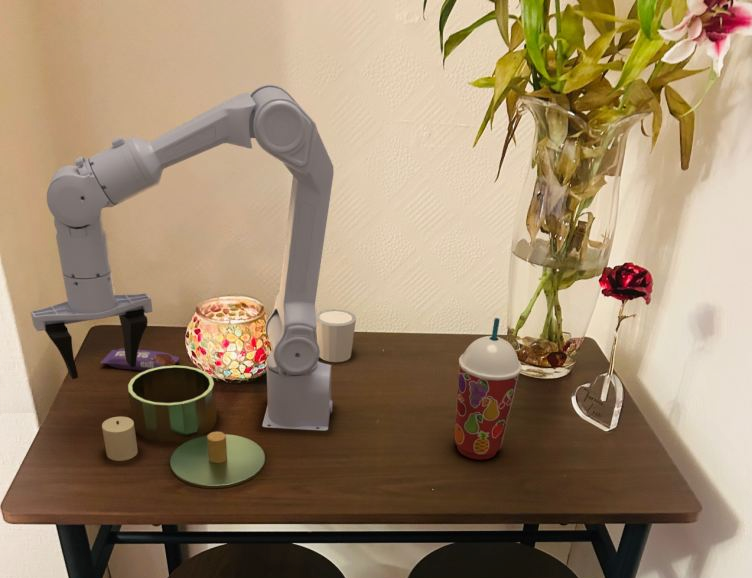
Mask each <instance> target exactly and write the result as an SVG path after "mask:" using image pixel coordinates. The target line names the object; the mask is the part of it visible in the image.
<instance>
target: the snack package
mask: <svg viewBox="0 0 752 578" xmlns="http://www.w3.org/2000/svg"><path fill="white" fill-rule="evenodd" d="M180 359H181V357H180V356H175V355H173V354H171V353H168V352H164V351H157V350H148V349H138V353H137V360H136V367H131V366H130V365H129V364H128V363H127V361H126V356H125V348H124V347H123V348H118V349H112V350H110V351H109V353H108V354H107V355H106V356H104V358H103V359H102V360H101V361H100V362H99V363H100V364H103V365H108V366H110V367H111V368H116V369H120V370H131V371H139V372H144V371H146V370H149V369H153V368H157V367H162V366H176V364H177V363H178V361H179V360H180Z"/></svg>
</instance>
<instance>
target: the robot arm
mask: <svg viewBox="0 0 752 578" xmlns="http://www.w3.org/2000/svg"><path fill="white" fill-rule="evenodd" d="M252 139H255V140H256V142H257V144H258V145H259V147H260V148H261V149H262V150H263V151H265V152H266V153H268V154H269V155H270V156H272V157H273V158H275V159H276V160H278V161H280V162H281V163H283V166H285V168H286V169H287V170H288V172H289V173H290V174H291V175H292V182H291V190H290V199H289V205H288V215H287V223H286V232H285V241H284V247H283V248H284V249H283V259H282V267H281V274H280V282H279V292H278V294H277V296H276V297H275V299H274V307H273V310H272V312H271V313H270V315H269V316H268V318H267V319H266V322H265V329H264V330H265V331H264V332H265V336H266V338H267V339H268V341H269V344H270V347H271V350H270V352H269V354H268V356H267V357H266V391H267V393H266V394H267V398H266V399H267V406H266V410H265V414H264V417H263V421H262V424H261V427H263V428H271V429H286V430H289V429H290V430H308V431H328V430H329V424H330V416H331V413H333V406H334V405H333V404H334V403H333V401H334V400H332V378H333V377H332V376H333V374H332V373H333V372H332V371H333V369H332V367H333V366H332V364H329V363H324V362H322V361H321V362H320V361H319V359H320V357H319V356H320V349H319V345H318V343H317V333H316V329H317V322H316V314H317V313H316V300H317V292H318V287H319V286H318V285H319V278H320V271H321V266H322V265H321V264H322V258H323V250H324V243H325V238H326V237H325V236H326V229H327V222H328V215H329V210H330V209H329V208H330V201H331V196H332V188H333V181H334V173H335V172H334V171H335V170H334V164H333V162H332V159H331V158H330V156H329V153H328V151H327V149H326V147H325V144H324V142H323V139H322V137H321V135H320V132H319V130H318V127H317V124H316V122H315V120H313V118H311V116H309V114H308V113H307V112H306V111H305V110H304V108H302V106H300V104H299V103H298V102H297V101H296V100H295V99H294V97H293V96H292V95H290V93H289V92H288V91H287V90H285V89H284V88H283V87H282V86H281V87H280V86H278V85H274V84H265V85H261V86H259V87H257V88H256V89H254V90H253V91H251V92H248V91H247V92H243V93H239V94H236V95H235V96H232V97H230V98H229V99H226V100H225V101H222V102H220V103H218V104H217V105H215V106H213V107H211V108H209V109H208V110H205V111H204V112H202V113H200V114H198V115H196V116H194V117H193V118H191V119H189V120H187V121H186V122H183V123H182V124H180V125H178V126H176V127H174V128H172V129H171V130H169V131H167V132H164V133H163V134H161V135H160V136H157V137H156V138H154V139H152V140H145V139H142V138H140V137H136V136H130V137H129V138H126V139H124V136H122V135H119V136H117V137H115V138H113V139H112V140H111V145H112V146H110V147H108V148H106V149H104V150H102V151H100V152H97V153H95V154H94V155H91V156H90V157H88V158H86V159H85V157H84V156H80V157H76V159H75V160H74V164H75V165H73V164H68V165H65V166H61V167H59V168H58V169H57V170H56V171H55V172H54V173H53V175H52V177H51V179H50V182H49V185H48V188H47V190H46V191H47V192H46V203H47V207H48V210H49V212H50V213H51V215H52V216H53V218H54V219H53V223H54V224H53V225H54V227H55V230H56V234H55V238H56V239H55V240H56V244H57V249H58V255H59V261H60V268H61V272H62V278H63V282H64V284H63V285H64V288H65V289H64V290H65V294H66V301H64V302H60V303H57V304H53V305H50V306H47V307H44V308H40V309H35V310H31V311H30V315H31V316H30V317H31V320H32V326H33V327H34V329H35V330H36V332H42V331H45V333H46V335H47V336H48V337H49V339H50V340H51V341H52V343H53V344H54V346H55V347H56V348H57V350H58V352H59V354H60V355H61V357H62V359H63V362H64V364H65V366H66V369H67V373H68V374H69V376H70V378H71V379H72V380H75V379H78V378H79V374H78V369H77V365H76V361H75V358H74V357H75V356H74V349H73V338H72V335H71V334H70V332H69V330H68V327H67V325H69V324H75V323H76V324H77V323H82V322H87V321H93V320H101V319H106V318H111V317H118V318H119V322H120V327H121V331H122V335H123V336H122V337H123V346H124V347H123V348H125V356H126V361H127V363H128V364H129V365H130V366H131V367H136V360H137V353H138V350H139V349H140V343H141V342H142V341H141V340H142V338H143V335H144V333H145V330H146V329H147V327H148V324H149V323H148V317H147V315H145V314H147V313H153V303H152V298H151V296H149V294H147V292H146V293H145V292H143V293H135V294H116V293H115V287H114V278H113V272H112V267H111V265H112V264H111V259H110V251H109V244H108V238H107V233H106V231H105V229H104V224H103V217H102V210H103V209H104V208H113V207H116V206H118V205H119V204H122V203H123V202H125V201H127V200H130V199H132V198H134V197H136V196H138V195H140V194H143V193H144V192H147V191H148V190H151V189H152V188H154V187H156V186H158V185H160V183H161V179H162V175H163V171H164V170H165V169H168V168H169V167H172V166H174V165H177V164H179V163H181V162H183V161H186V160H188V159H190V158H193V157H195V156H197V155H200V154H202V153H204V152H207V151H209V150H211V149H214V148H217V147H218V146H221V145H223V144H229V145H233V146H237V147H241V148H245V149H251V150H252V149H253V145H252Z"/></svg>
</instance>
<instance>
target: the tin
mask: <svg viewBox="0 0 752 578" xmlns="http://www.w3.org/2000/svg"><path fill="white" fill-rule="evenodd" d="M127 392H128V399H129V406H130V414H131V419H132V420H133V422H134V427H135V433H137V434H138V435H139V436H141V437H143V438H145V439H147V440H151V441H155V442H159V443H160V442H161V443H179V442H187V441H190V440H192V439H195V438H198V437H202V436H205V434H208V433H209V432H210V431H211V430H212V429H213V428H214V427H215V425H216V423H217V420H218V418H217V404H216V390H215V382H214V378H213V377H212V376H211V375H210V374H209V373H208V372H206V371H205V370H202V369H200V368H197V367H192V366H188V365H174V366H162V367H157V368H153V369H149V370H146V371H141V372H139V373H138V374H136V375H135V376H133V377H132V378H131V379H130V380H129V382H128V384H127Z"/></svg>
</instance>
